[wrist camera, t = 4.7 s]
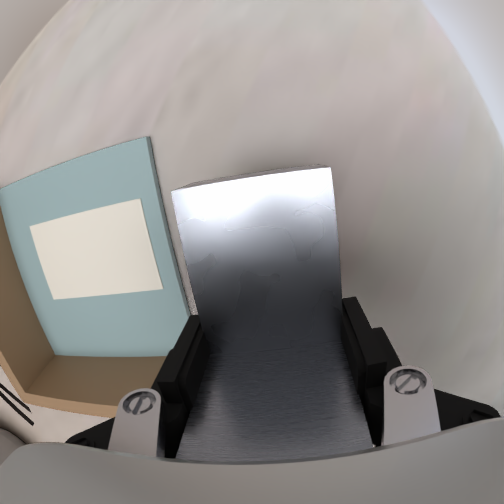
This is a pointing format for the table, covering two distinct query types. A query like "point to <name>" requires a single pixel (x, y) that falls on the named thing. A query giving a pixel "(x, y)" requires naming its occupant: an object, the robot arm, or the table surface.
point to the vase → (8, 444)
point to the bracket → (268, 318)
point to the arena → (88, 281)
